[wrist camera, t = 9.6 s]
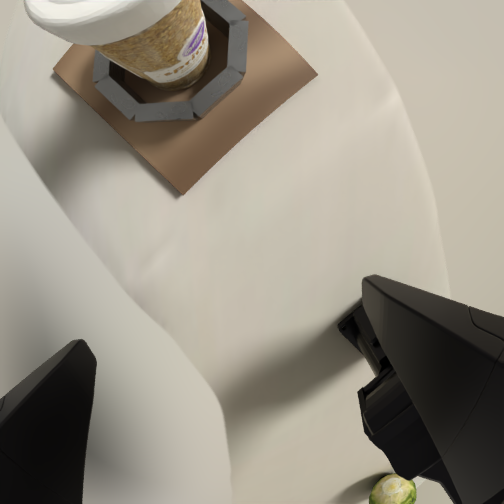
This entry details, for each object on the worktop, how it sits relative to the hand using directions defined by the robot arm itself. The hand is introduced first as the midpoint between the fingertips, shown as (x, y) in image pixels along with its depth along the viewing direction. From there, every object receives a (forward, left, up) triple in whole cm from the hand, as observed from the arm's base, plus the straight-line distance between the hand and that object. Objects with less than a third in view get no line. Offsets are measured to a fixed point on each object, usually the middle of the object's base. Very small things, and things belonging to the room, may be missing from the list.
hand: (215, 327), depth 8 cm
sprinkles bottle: (+9, -5, -13) cm, 16 cm away
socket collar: (+9, -5, -13) cm, 17 cm away
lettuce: (-67, +17, -13) cm, 70 cm away
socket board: (+9, -5, -13) cm, 17 cm away
